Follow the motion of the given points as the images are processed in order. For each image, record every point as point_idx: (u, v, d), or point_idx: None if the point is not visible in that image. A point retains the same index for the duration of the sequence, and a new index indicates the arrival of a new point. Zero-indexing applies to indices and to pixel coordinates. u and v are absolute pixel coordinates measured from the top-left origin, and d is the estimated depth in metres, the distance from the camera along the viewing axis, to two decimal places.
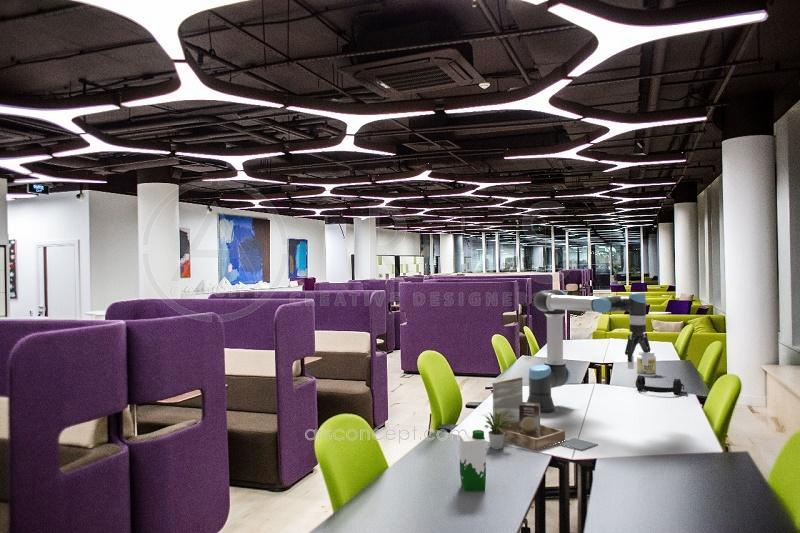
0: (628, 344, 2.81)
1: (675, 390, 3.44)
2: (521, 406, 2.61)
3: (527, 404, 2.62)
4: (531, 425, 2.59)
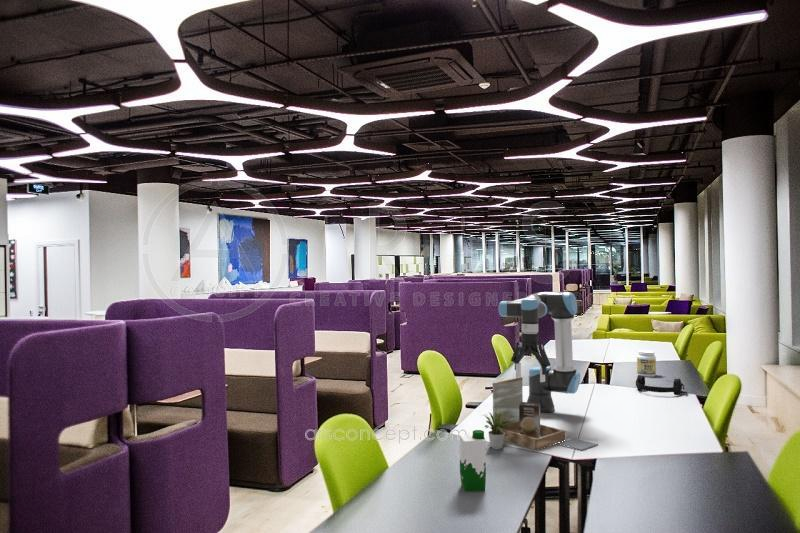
0: None
1: (675, 390, 3.45)
2: (521, 406, 2.61)
3: (527, 404, 2.62)
4: (531, 425, 2.59)
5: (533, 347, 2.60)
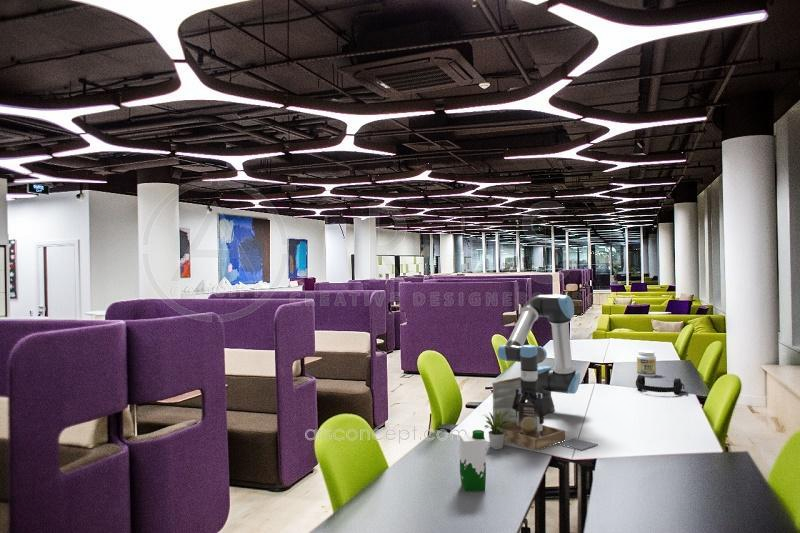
0: None
1: (676, 390, 3.45)
2: (521, 406, 2.61)
3: (527, 404, 2.62)
4: (531, 425, 2.59)
5: (532, 394, 2.60)
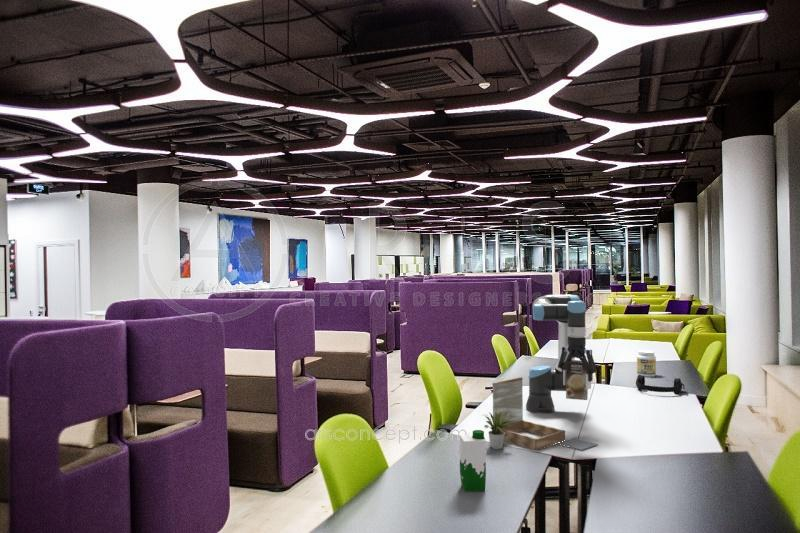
0: None
1: (676, 389, 3.46)
2: (568, 363, 2.52)
3: (574, 361, 2.53)
4: (579, 383, 2.50)
5: (580, 351, 2.51)
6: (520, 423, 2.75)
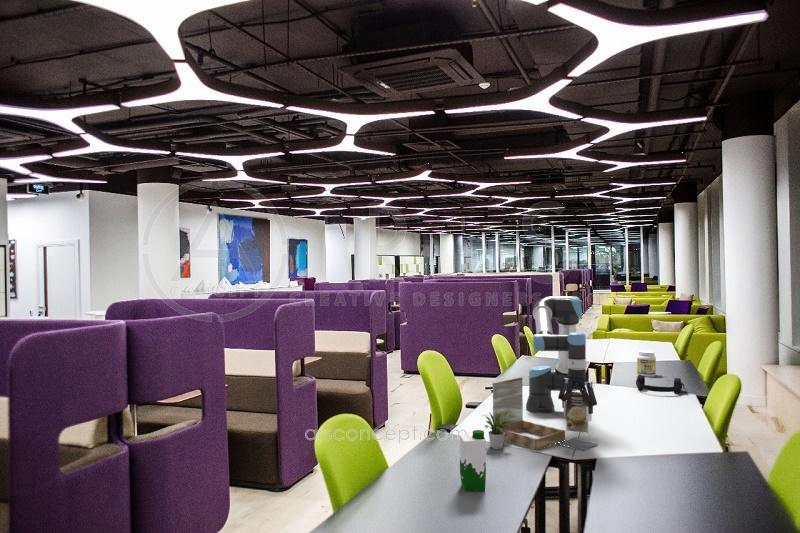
0: None
1: (676, 389, 3.46)
2: (569, 395, 2.52)
3: (575, 393, 2.53)
4: (579, 416, 2.50)
5: (580, 383, 2.51)
6: (520, 423, 2.75)
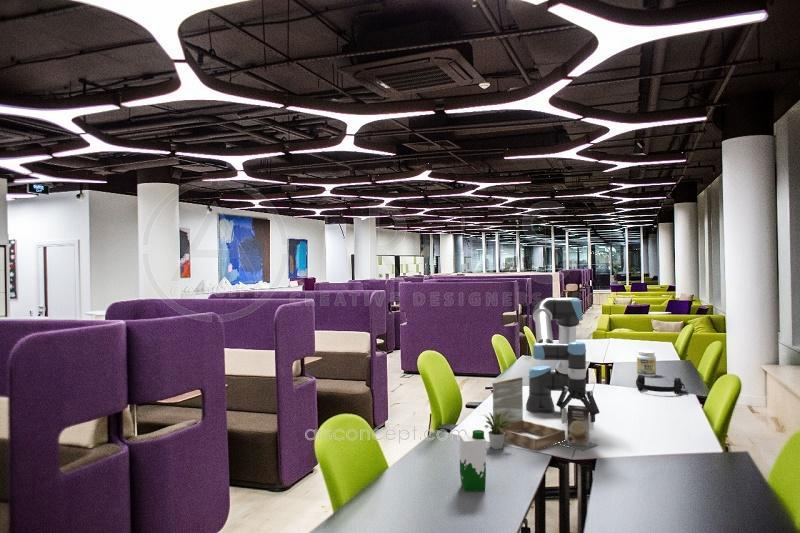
0: None
1: (676, 389, 3.47)
2: (570, 409, 2.51)
3: (576, 407, 2.52)
4: (580, 430, 2.50)
5: (581, 393, 2.51)
6: (520, 423, 2.75)
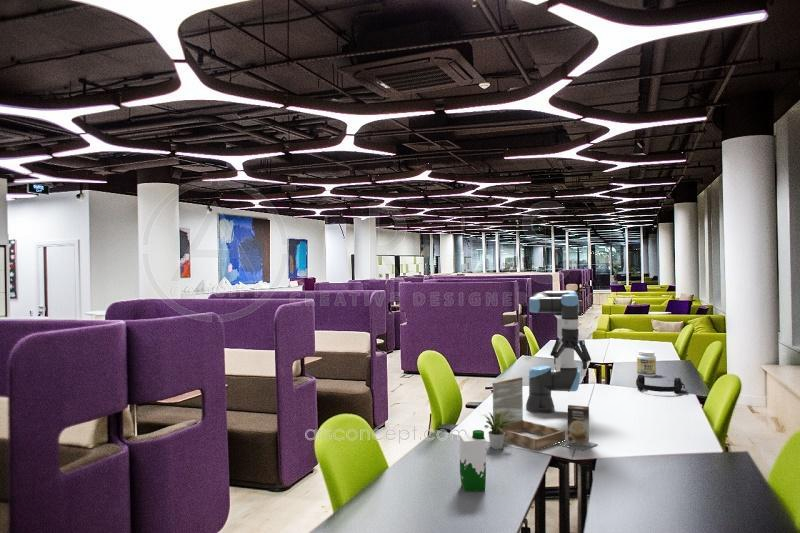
0: None
1: (676, 389, 3.47)
2: (570, 409, 2.51)
3: (576, 407, 2.52)
4: (580, 430, 2.50)
5: (573, 342, 2.64)
6: (520, 423, 2.75)
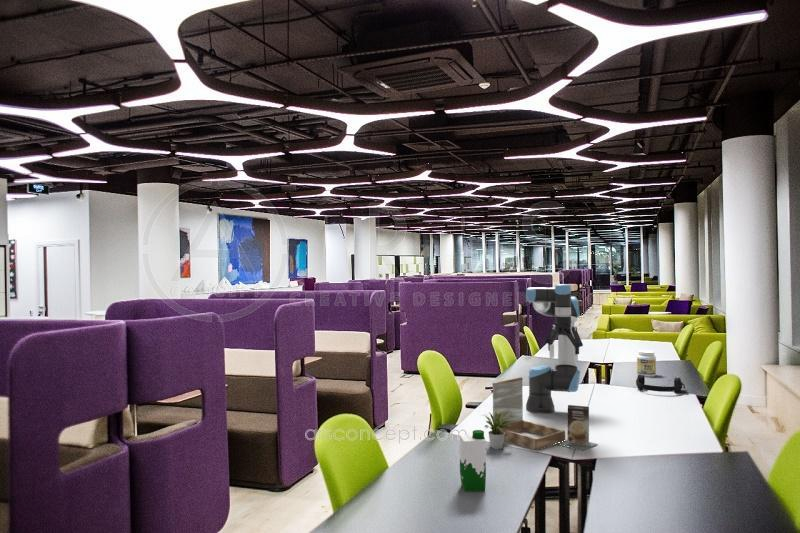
0: None
1: (676, 389, 3.47)
2: (570, 409, 2.51)
3: (576, 407, 2.52)
4: (580, 430, 2.50)
5: (566, 329, 2.80)
6: (520, 423, 2.75)
